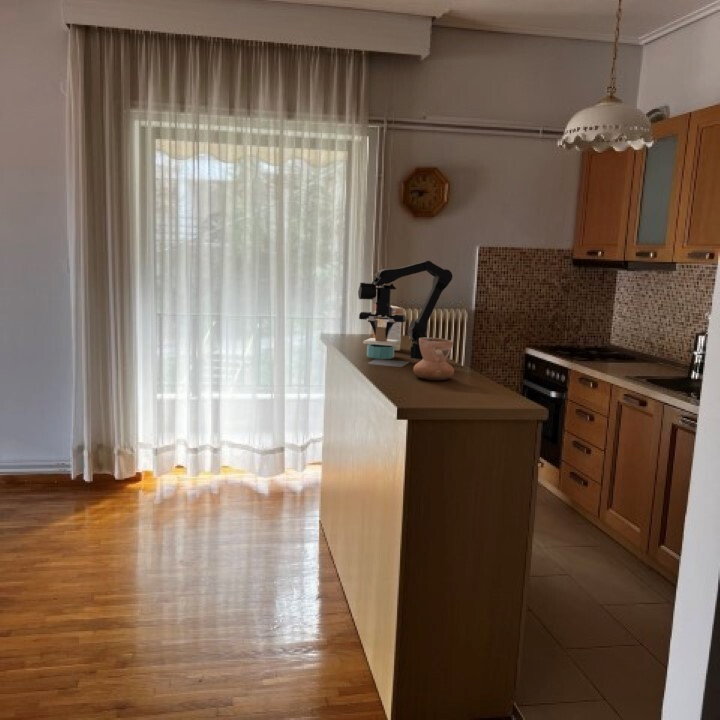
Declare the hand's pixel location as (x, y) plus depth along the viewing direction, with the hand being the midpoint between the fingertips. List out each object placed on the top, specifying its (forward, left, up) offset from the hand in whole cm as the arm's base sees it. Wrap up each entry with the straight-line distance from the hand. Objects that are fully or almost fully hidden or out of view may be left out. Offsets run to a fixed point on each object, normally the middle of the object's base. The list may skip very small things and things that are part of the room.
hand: (381, 337), depth 294 cm
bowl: (0, 0, -8) cm, 8 cm away
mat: (-7, +14, -8) cm, 18 cm away
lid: (0, 0, -2) cm, 2 cm away
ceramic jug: (-29, +37, -9) cm, 48 cm away
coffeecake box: (+5, -30, -9) cm, 32 cm away
